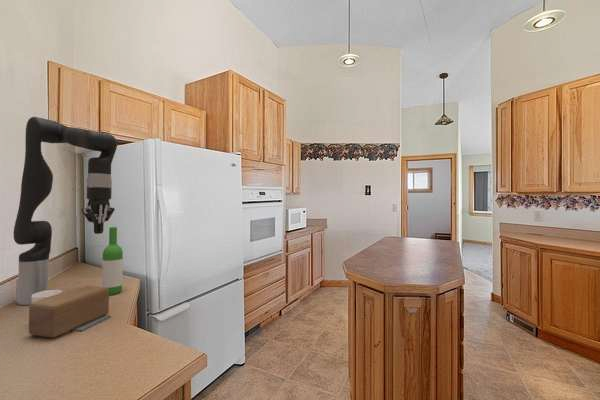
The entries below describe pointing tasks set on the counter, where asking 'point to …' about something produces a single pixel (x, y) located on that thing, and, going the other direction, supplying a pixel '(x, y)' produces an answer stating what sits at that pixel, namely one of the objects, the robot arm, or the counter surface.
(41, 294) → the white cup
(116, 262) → the wine bottle
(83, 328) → the slate rubber mat
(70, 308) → the wooden block
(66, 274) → the counter surface
